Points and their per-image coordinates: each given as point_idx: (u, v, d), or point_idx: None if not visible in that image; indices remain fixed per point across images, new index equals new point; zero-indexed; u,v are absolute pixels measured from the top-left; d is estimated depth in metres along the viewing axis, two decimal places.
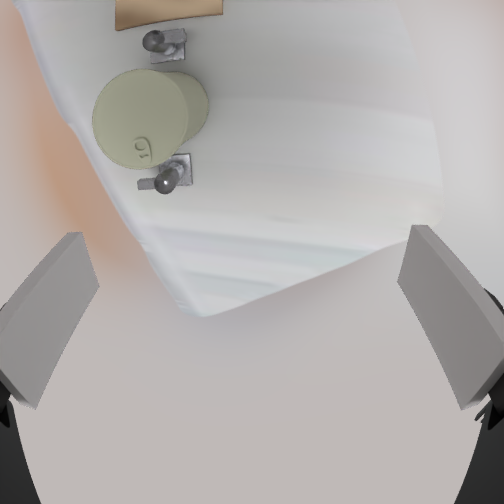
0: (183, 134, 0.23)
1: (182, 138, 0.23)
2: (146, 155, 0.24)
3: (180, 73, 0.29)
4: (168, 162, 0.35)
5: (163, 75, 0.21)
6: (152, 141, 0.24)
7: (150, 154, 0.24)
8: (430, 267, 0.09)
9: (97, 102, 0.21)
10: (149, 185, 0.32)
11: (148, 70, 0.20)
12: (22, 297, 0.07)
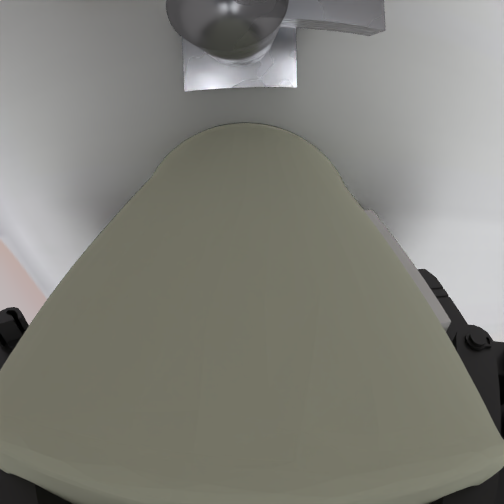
0: None
1: None
2: None
3: (286, 135, 0.10)
4: None
5: (496, 461, 0.01)
6: None
7: None
8: None
9: None
10: None
11: (411, 490, 0.01)
12: None
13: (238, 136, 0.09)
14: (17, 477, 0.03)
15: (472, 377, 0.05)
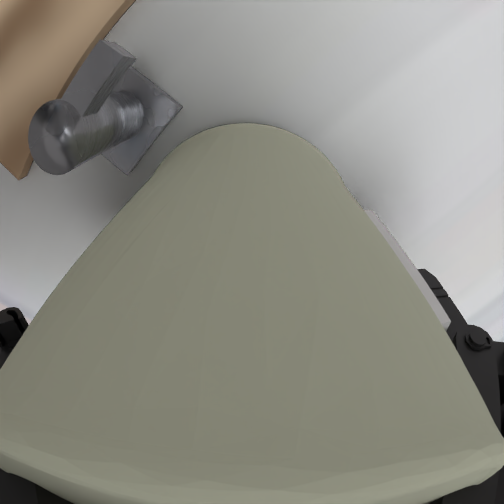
0: None
1: None
2: None
3: (285, 135, 0.10)
4: None
5: (496, 460, 0.01)
6: None
7: None
8: None
9: None
10: None
11: (411, 487, 0.01)
12: None
13: (238, 136, 0.09)
14: (17, 477, 0.03)
15: (472, 377, 0.05)
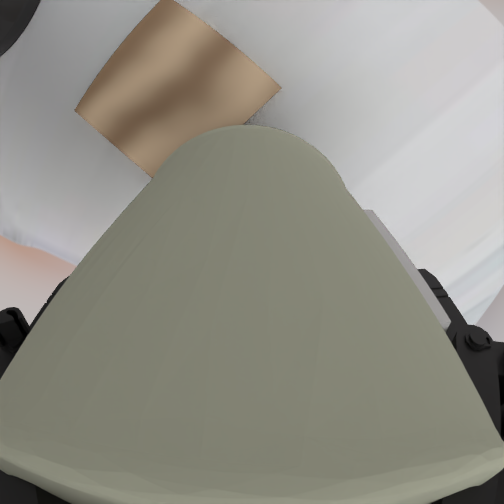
0: None
1: None
2: None
3: (287, 137, 0.10)
4: None
5: (496, 463, 0.01)
6: None
7: None
8: None
9: None
10: None
11: (413, 492, 0.01)
12: None
13: (239, 138, 0.09)
14: (17, 477, 0.03)
15: (472, 377, 0.05)
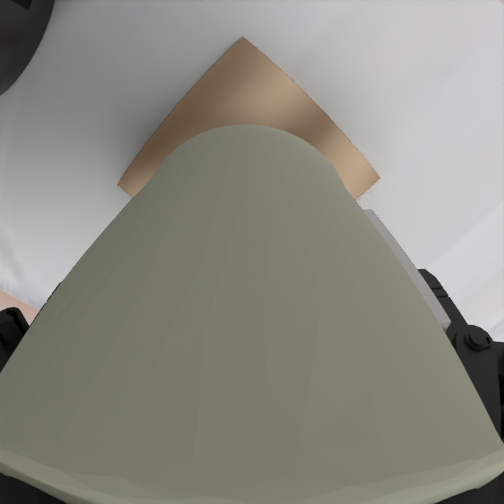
0: None
1: None
2: None
3: (286, 136, 0.10)
4: None
5: (496, 467, 0.01)
6: None
7: None
8: None
9: None
10: None
11: (411, 499, 0.01)
12: None
13: (238, 137, 0.09)
14: None
15: (472, 377, 0.05)
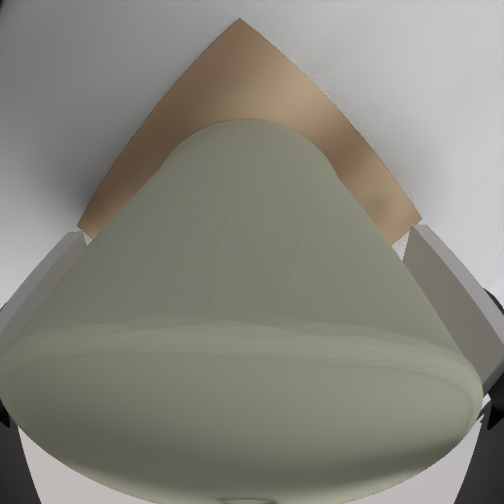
0: None
1: (392, 486, 0.05)
2: None
3: (283, 130, 0.11)
4: None
5: (461, 373, 0.02)
6: (290, 500, 0.05)
7: None
8: (430, 267, 0.09)
9: (8, 405, 0.03)
10: None
11: (373, 352, 0.02)
12: (22, 297, 0.07)
13: (239, 130, 0.10)
14: None
15: None
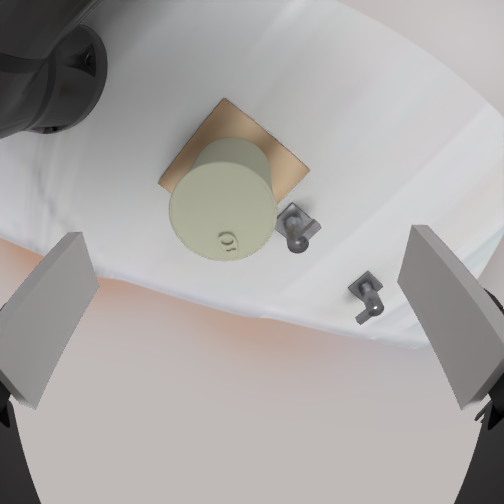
0: (272, 230, 0.26)
1: (271, 234, 0.26)
2: (233, 249, 0.26)
3: (241, 140, 0.32)
4: (358, 287, 0.43)
5: (250, 170, 0.23)
6: (239, 235, 0.26)
7: (237, 248, 0.26)
8: (430, 267, 0.09)
9: (174, 194, 0.24)
10: (366, 318, 0.40)
11: (233, 164, 0.23)
12: (22, 297, 0.07)
13: (225, 142, 0.30)
14: None
15: None
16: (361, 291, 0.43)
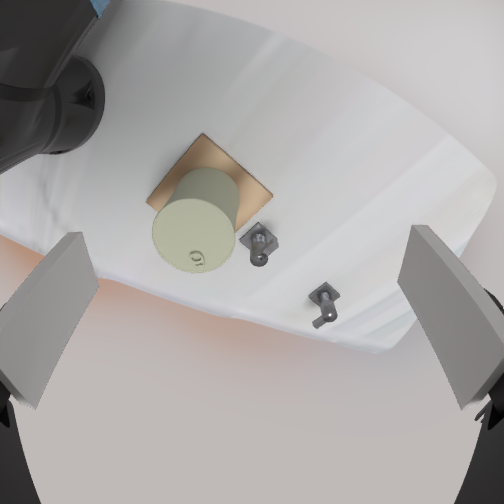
0: (231, 251, 0.33)
1: (230, 254, 0.33)
2: (201, 264, 0.33)
3: (215, 171, 0.39)
4: (317, 296, 0.51)
5: (214, 206, 0.30)
6: (205, 254, 0.33)
7: (204, 264, 0.33)
8: (431, 267, 0.09)
9: (156, 220, 0.31)
10: (321, 323, 0.48)
11: (200, 200, 0.30)
12: (22, 297, 0.07)
13: (201, 173, 0.37)
14: None
15: None
16: (319, 299, 0.50)
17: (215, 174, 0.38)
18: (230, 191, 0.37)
